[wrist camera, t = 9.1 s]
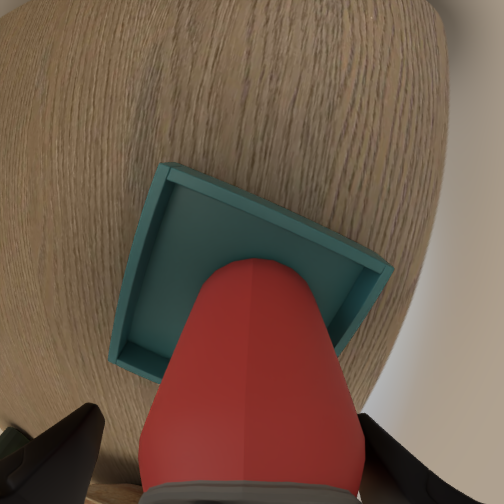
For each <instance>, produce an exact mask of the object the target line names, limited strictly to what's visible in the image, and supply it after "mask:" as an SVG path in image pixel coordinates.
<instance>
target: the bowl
mask: <svg viewBox="0 0 504 504" xmlns="http://www.w3.org/2000/svg"><path fill="white" fill-rule="evenodd" d="M143 493H144V492H143V487H142V486H139V485H135V484H126V483H124V484H92V485H89V488H88V491H87V495H86V498H85V502H84V504H138V503H139V500H140V498H141V496H142V494H143Z"/></svg>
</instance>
